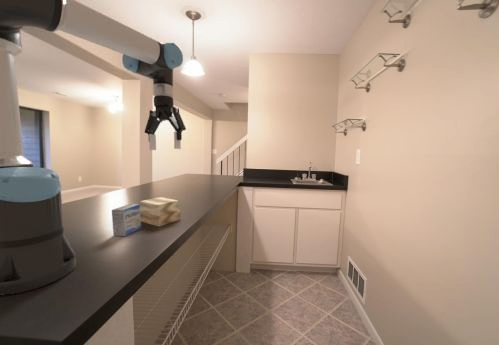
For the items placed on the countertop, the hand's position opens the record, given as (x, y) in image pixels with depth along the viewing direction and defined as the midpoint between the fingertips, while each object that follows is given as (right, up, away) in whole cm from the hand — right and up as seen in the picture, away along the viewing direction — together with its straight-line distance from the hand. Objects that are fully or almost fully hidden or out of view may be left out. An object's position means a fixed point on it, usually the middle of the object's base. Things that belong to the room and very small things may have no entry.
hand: (164, 149), depth 95 cm
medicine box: (-6, -30, -18) cm, 35 cm away
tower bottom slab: (0, -28, -5) cm, 29 cm away
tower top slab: (0, -24, -5) cm, 25 cm away
